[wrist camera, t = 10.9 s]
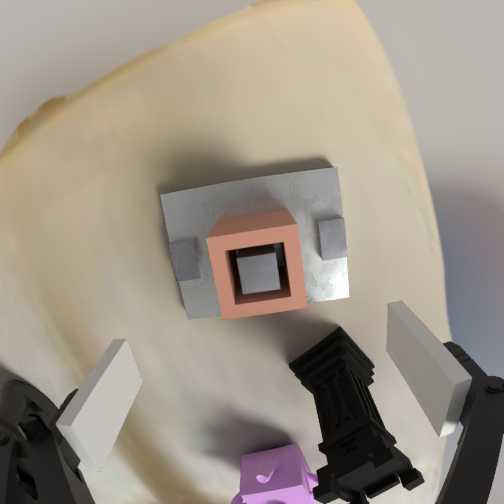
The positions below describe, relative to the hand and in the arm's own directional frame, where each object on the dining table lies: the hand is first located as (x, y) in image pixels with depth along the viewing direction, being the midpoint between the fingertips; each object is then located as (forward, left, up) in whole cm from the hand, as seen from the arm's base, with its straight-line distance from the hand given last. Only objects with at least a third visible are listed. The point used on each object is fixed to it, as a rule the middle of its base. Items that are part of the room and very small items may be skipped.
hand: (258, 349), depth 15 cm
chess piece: (+7, -17, -21) cm, 28 cm away
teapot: (-2, -36, -21) cm, 42 cm away
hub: (0, 0, -19) cm, 19 cm away
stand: (0, 0, -20) cm, 20 cm away
